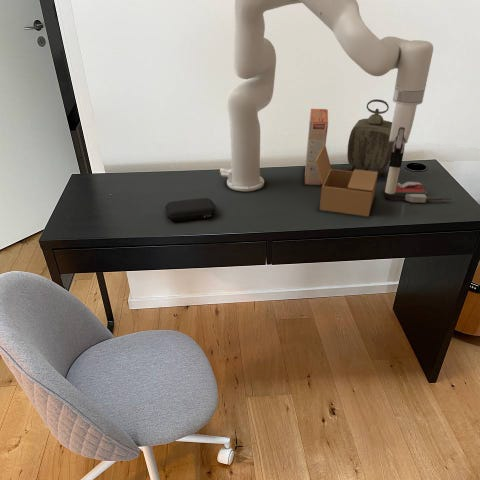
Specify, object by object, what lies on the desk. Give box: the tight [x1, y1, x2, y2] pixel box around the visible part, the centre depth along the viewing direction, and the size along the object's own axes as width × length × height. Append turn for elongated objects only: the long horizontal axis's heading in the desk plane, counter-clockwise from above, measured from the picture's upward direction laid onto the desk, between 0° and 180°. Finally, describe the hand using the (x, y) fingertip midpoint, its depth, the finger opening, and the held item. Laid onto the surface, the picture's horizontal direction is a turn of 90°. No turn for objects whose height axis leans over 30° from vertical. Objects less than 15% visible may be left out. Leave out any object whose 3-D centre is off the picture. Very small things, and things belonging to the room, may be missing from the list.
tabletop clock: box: [346, 99, 395, 176], centre depth 164 cm, size 14×9×25 cm, turn 66°
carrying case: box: [164, 197, 217, 222], centre depth 150 cm, size 11×3×15 cm
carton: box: [319, 168, 379, 217], centre depth 152 cm, size 15×14×9 cm
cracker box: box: [304, 108, 329, 186], centre depth 165 cm, size 14×6×21 cm, turn 173°
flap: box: [315, 144, 332, 185], centre depth 150 cm, size 7×14×1 cm
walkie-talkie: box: [384, 181, 452, 204], centre depth 157 cm, size 9×4×20 cm
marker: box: [384, 144, 406, 194], centre depth 141 cm, size 3×3×14 cm
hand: (395, 163), depth 140 cm, fingers closed on marker, 3 cm apart
